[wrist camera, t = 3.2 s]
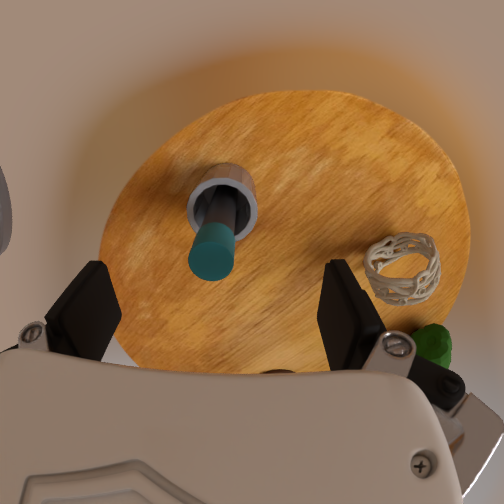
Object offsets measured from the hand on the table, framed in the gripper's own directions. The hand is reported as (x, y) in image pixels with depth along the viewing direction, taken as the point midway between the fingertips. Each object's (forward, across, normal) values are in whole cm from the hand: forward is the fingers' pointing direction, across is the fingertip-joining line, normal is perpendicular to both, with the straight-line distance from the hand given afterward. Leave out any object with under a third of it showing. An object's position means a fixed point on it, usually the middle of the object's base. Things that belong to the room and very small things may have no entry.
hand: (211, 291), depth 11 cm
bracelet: (+16, -16, +6) cm, 23 cm away
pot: (+15, 0, 0) cm, 15 cm away
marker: (+15, 0, 0) cm, 15 cm away
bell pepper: (+11, -25, +17) cm, 32 cm away
